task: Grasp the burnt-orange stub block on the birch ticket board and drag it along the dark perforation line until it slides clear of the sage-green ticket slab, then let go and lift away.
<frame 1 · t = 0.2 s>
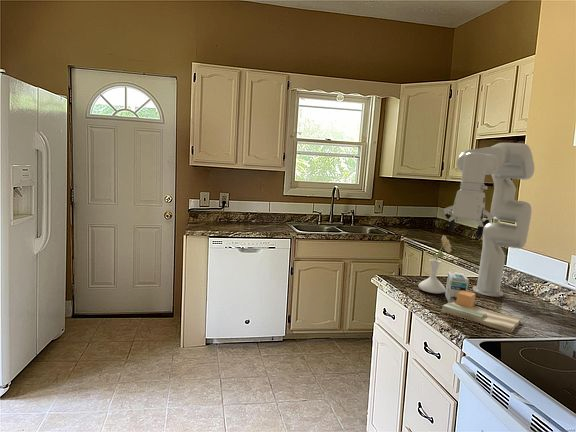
hand: (464, 234, 158), 30 cm above the counter, tool pointing down, fingers open, 9 cm apart
light bulb box: (454, 300, 181), on the counter
ticket board: (480, 317, 162), on the counter
flower in vase: (432, 291, 191), on the counter
stub: (465, 299, 169), point 4 cm above the counter, slide at 0.0 cm
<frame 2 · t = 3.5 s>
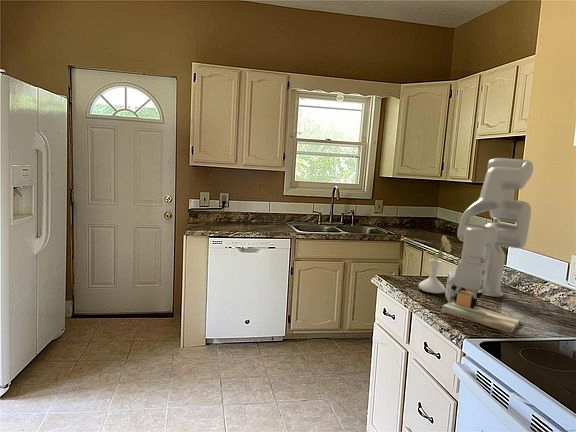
hand: (465, 304, 169), 2 cm above the counter, tool pointing down, fingers closed on stub, 5 cm apart
stub: (465, 299, 169), point 4 cm above the counter, slide at 0.0 cm, touching gripper
everything else where it was.
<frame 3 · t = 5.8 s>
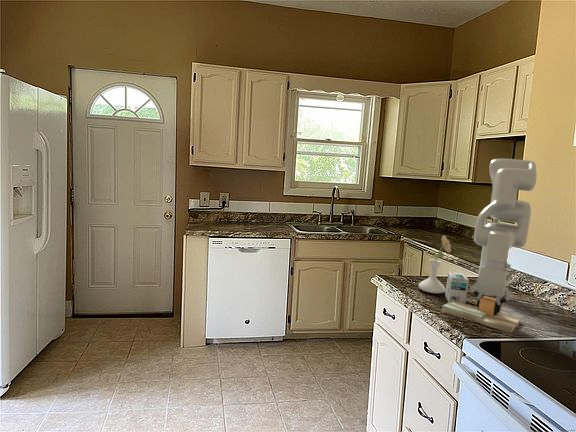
hand: (487, 311, 164), 2 cm above the counter, tool pointing down, fingers closed on stub, 5 cm apart
stub: (488, 305, 163), point 4 cm above the counter, slide at 8.4 cm, touching gripper
everything else where it was.
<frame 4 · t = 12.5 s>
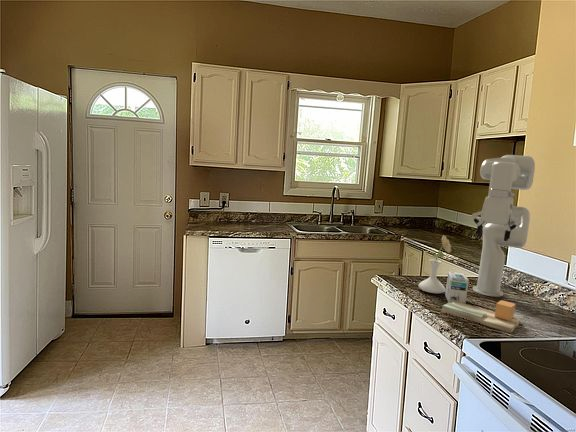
hand: (492, 238, 169), 28 cm above the counter, tool pointing down, fingers open, 9 cm apart
stub: (505, 310, 160), point 4 cm above the counter, slide at 14.1 cm
everything else where it was.
at the end: stub slide at 14.1 cm; the gripper is holding nothing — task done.
